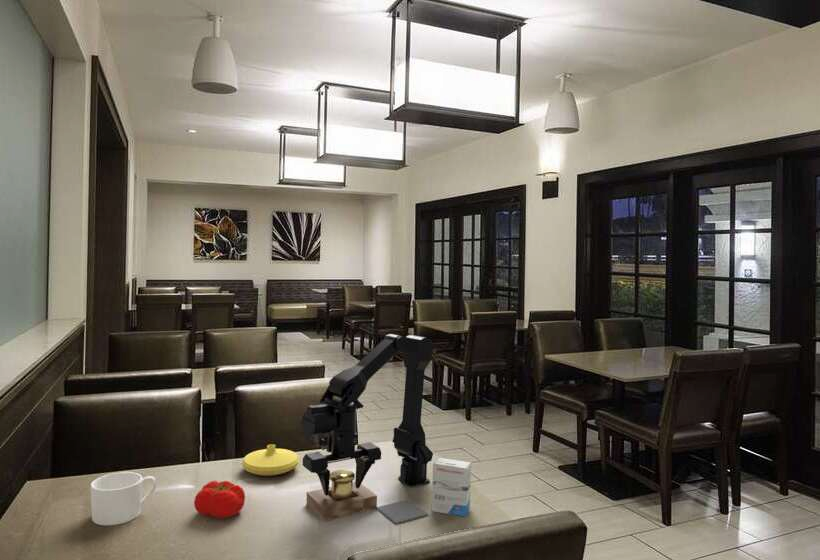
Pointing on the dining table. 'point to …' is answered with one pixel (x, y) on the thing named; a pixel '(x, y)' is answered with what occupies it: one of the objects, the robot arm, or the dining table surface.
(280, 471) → the yellow flat knobbed disc
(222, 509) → the tomato
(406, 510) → the felt pad
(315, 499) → the bore block
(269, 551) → the dining table surface
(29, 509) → the dining table surface
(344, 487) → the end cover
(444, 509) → the ink box
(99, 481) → the mug
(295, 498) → the dining table surface
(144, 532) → the dining table surface
